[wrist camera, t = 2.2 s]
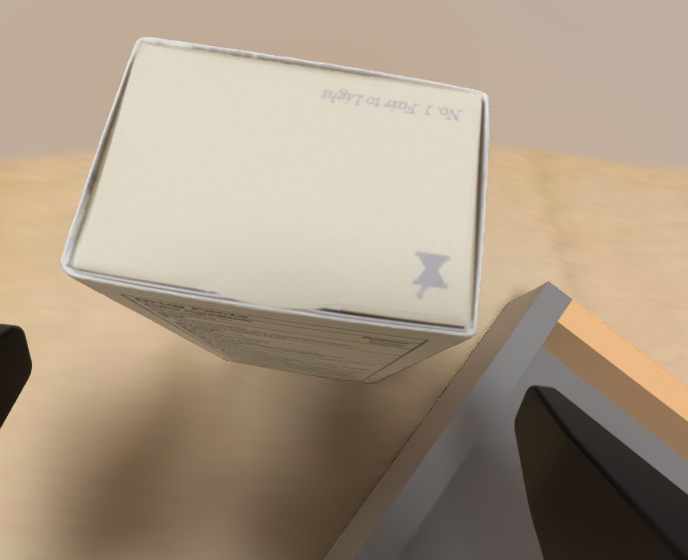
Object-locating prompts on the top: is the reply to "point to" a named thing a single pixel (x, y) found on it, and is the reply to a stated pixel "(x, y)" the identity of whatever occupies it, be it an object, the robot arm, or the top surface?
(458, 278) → the skincare box
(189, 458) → the top surface
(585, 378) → the tray
